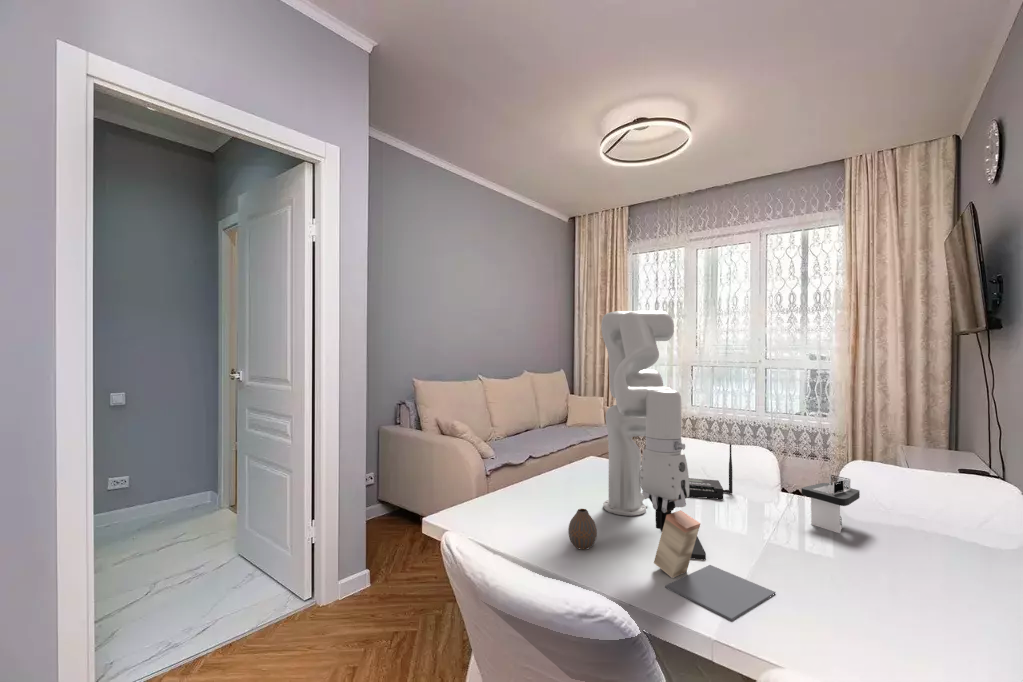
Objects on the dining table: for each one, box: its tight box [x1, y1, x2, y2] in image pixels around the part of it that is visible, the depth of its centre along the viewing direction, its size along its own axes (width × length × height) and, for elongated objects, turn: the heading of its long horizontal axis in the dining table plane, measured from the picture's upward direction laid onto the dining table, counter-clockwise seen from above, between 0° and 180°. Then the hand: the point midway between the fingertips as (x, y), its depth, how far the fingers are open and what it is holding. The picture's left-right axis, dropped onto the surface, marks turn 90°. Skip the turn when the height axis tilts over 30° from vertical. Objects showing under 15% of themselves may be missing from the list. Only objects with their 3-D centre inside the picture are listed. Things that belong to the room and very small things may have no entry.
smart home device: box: [691, 535, 707, 561], centre depth 116 cm, size 8×2×20 cm
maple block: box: [653, 510, 701, 579], centre depth 99 cm, size 5×5×12 cm
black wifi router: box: [689, 443, 734, 500], centre depth 156 cm, size 20×14×17 cm
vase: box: [567, 508, 598, 550], centre depth 113 cm, size 7×7×9 cm
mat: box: [664, 564, 776, 622], centre depth 92 cm, size 16×14×1 cm
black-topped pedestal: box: [801, 473, 861, 534], centre depth 127 cm, size 28×26×13 cm
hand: (663, 527), depth 102 cm, fingers closed
